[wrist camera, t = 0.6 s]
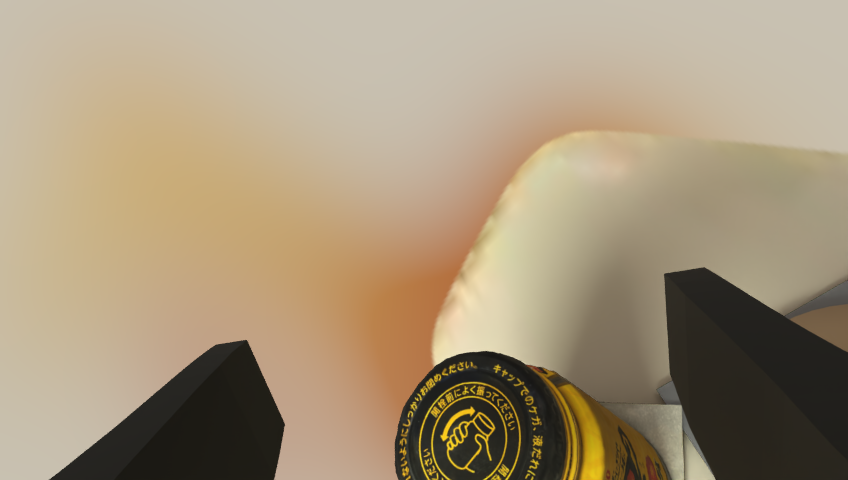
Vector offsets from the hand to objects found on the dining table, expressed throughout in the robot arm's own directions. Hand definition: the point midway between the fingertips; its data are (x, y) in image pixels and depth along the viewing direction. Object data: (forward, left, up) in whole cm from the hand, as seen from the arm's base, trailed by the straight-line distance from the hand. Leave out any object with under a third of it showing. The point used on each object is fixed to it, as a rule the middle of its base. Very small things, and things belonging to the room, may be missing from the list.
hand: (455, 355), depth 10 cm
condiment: (+3, +3, -19) cm, 19 cm away
